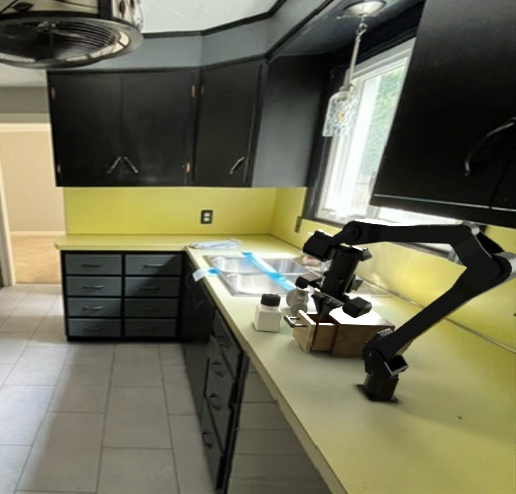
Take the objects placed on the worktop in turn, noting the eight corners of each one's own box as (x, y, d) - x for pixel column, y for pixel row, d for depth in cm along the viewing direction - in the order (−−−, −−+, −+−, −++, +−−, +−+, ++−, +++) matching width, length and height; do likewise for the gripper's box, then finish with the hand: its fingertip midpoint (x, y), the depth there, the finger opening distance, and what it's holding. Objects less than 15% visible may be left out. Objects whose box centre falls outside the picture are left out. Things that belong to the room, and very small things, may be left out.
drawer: (287, 350, 108) (294, 323, 105) (276, 334, 119) (281, 309, 115) (352, 353, 107) (361, 326, 103) (335, 337, 117) (342, 312, 113)
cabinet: (331, 356, 107) (341, 323, 103) (314, 338, 118) (322, 308, 114) (383, 359, 106) (396, 325, 101) (361, 341, 117) (371, 310, 113)
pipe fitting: (283, 304, 147) (290, 281, 142) (304, 308, 145) (313, 285, 140) (283, 317, 138) (292, 293, 132) (306, 322, 135) (316, 297, 130)
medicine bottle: (278, 332, 123) (285, 298, 118) (256, 330, 124) (262, 297, 119) (273, 324, 129) (280, 292, 124) (253, 322, 131) (258, 290, 126)
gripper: (398, 278, 87) (370, 329, 97) (330, 248, 100) (312, 296, 110) (368, 290, 83) (343, 342, 93) (302, 257, 96) (285, 306, 106)
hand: (320, 319), depth 100 cm, fingers closed
